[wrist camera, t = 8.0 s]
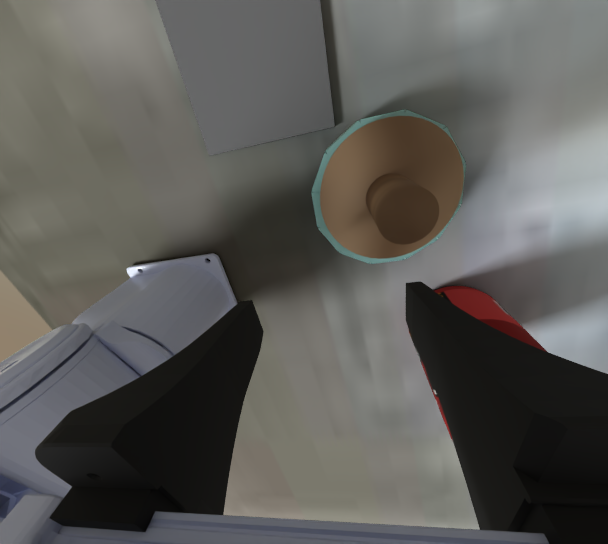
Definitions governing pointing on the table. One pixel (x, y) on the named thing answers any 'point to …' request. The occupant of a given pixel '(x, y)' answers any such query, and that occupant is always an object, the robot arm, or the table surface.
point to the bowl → (319, 177)
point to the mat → (251, 68)
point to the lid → (391, 187)
